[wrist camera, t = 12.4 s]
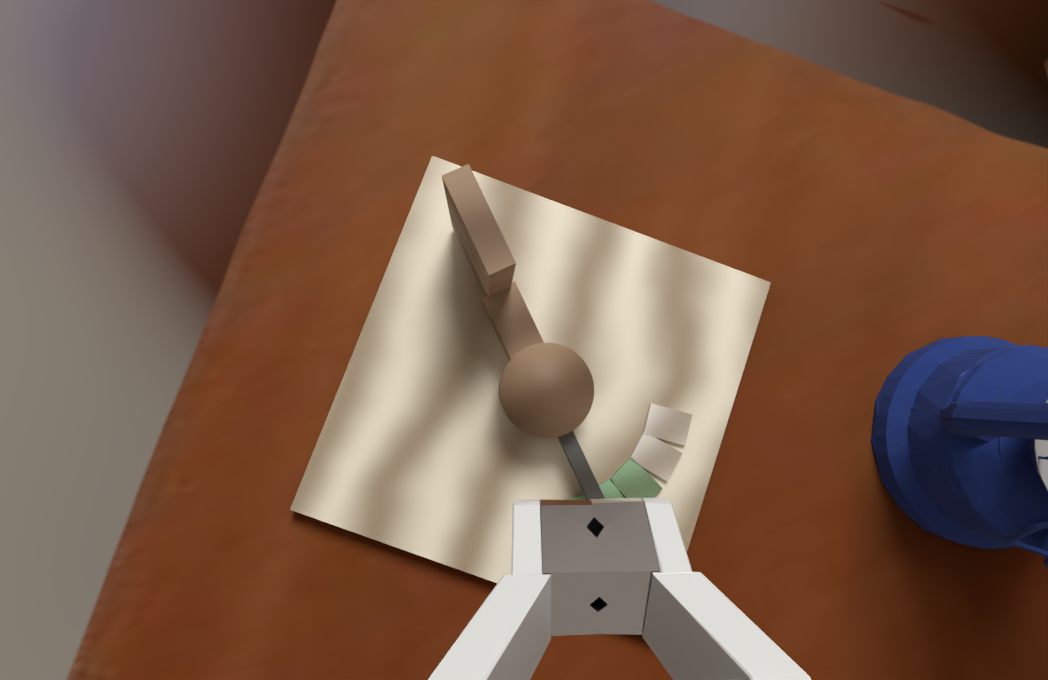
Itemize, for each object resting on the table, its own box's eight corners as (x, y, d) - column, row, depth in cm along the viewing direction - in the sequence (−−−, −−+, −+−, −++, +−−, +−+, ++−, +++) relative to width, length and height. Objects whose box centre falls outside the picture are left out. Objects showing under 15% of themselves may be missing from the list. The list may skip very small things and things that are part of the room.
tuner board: (295, 506, 37) (288, 510, 36) (433, 161, 41) (431, 153, 39) (654, 634, 38) (660, 642, 37) (764, 285, 41) (772, 281, 40)
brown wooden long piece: (423, 239, 39) (403, 191, 30) (501, 205, 39) (505, 148, 30) (560, 532, 37) (583, 574, 28) (639, 491, 38) (686, 521, 29)
